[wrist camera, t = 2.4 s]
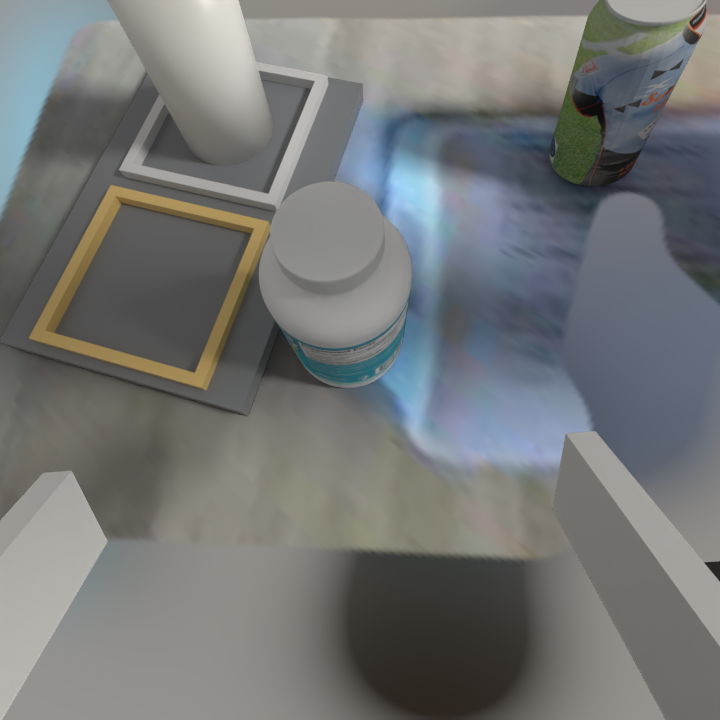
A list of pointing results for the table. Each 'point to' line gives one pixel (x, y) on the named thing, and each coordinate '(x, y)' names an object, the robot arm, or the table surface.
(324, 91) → the grey base plate
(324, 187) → the pill bottle
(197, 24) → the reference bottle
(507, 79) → the table surface
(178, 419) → the table surface
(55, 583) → the robot arm
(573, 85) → the beverage can
